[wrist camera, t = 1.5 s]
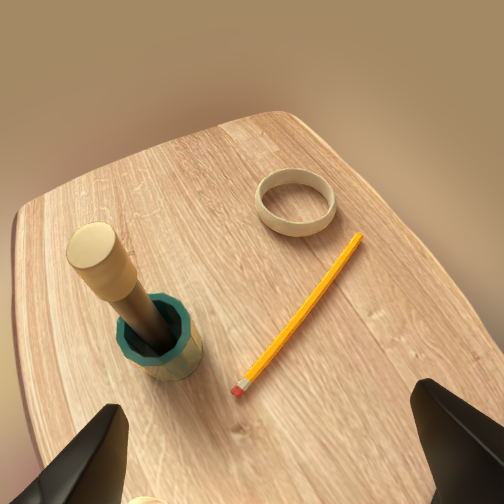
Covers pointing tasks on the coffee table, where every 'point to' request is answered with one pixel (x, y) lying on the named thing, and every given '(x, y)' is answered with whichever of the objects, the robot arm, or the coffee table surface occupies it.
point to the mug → (147, 501)
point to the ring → (297, 177)
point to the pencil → (296, 319)
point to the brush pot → (176, 360)
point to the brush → (118, 282)
